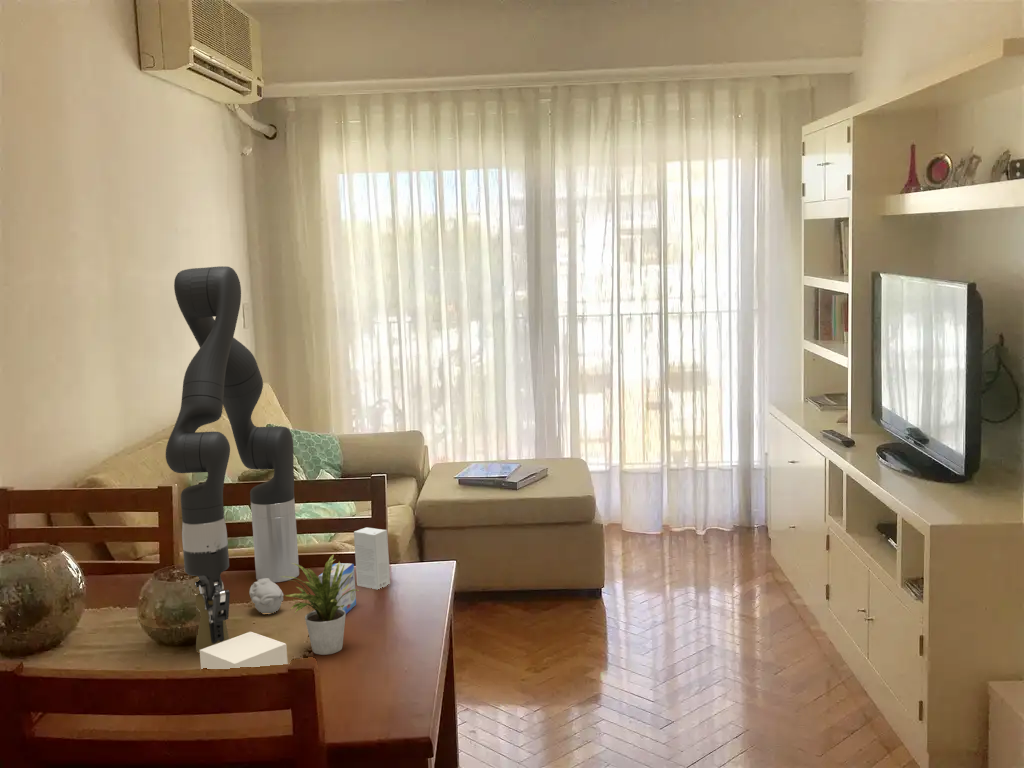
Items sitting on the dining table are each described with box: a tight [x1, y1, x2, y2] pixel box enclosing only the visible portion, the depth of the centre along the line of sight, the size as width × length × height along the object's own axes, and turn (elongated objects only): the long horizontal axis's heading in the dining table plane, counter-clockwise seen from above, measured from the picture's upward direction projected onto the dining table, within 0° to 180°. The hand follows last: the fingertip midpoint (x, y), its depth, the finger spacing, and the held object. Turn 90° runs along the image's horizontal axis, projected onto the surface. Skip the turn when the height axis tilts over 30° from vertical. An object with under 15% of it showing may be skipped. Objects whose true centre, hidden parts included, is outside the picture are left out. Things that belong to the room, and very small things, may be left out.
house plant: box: [283, 554, 360, 656], centre depth 168 cm, size 14×14×16 cm
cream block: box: [199, 631, 289, 670], centre depth 158 cm, size 10×10×5 cm
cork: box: [195, 593, 230, 652], centre depth 169 cm, size 6×6×11 cm
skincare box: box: [353, 527, 391, 591], centre depth 201 cm, size 6×4×12 cm
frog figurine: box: [249, 578, 285, 614], centre depth 186 cm, size 6×7×7 cm
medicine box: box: [317, 562, 357, 615], centre depth 186 cm, size 8×4×9 cm, turn 168°
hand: (212, 637), depth 169 cm, fingers closed on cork, 4 cm apart
